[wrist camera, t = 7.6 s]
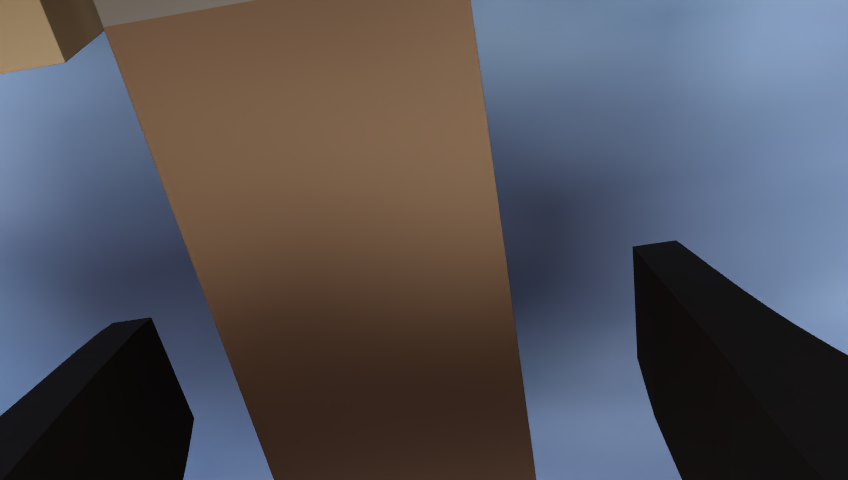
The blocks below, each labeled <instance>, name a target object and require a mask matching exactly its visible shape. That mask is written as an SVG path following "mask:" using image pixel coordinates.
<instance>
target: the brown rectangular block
mask: <svg viewBox="0 0 848 480" xmlns="http://www.w3.org/2000/svg"><path fill="white" fill-rule="evenodd" d="M93 1H94V3H95V6H96V9H97V11H98V14H99V17H100V19H101V22H102V25H103V27H104V30H105V33H106V35H107V38H108V41H109V43H110V46H111V49H112V51H113V54H114V57H115V59H116V62H117V64H118V67H119V70H120V72H121V75H122V78H123V80H124V83H125V86H126V88H127V91H128V94H129V96H130V99H131V102H132V104H133V107H134V110H135V112H136V115H137V118H138V120H139V123H140V125H141V128H142V131H143V133H144V136H145V139H146V141H147V144H148V147H149V149H150V152H151V155H152V157H153V160H154V163H155V165H156V168H157V171H158V173H159V176H160V179H161V181H162V184H163V186H164V189H165V192H166V194H167V197H168V200H169V202H170V205H171V208H172V210H173V213H174V216H175V218H176V221H177V224H178V226H179V229H180V232H181V234H182V237H183V240H184V242H185V245H186V247H187V250H188V253H189V255H190V258H191V261H192V263H193V266H194V269H195V271H196V274H197V277H198V279H199V282H200V285H201V287H202V290H203V293H204V295H205V298H206V301H207V303H208V306H209V308H210V311H211V314H212V316H213V319H214V322H215V324H216V327H217V330H218V332H219V335H220V338H221V340H222V343H223V346H224V348H225V351H226V354H227V356H228V359H229V362H230V364H231V367H232V370H233V372H234V375H235V377H236V380H237V383H238V385H239V388H240V391H241V393H242V396H243V399H244V401H245V404H246V407H247V409H248V412H249V415H250V417H251V420H252V423H253V425H254V428H255V431H256V433H257V436H258V438H259V441H260V444H261V446H262V449H263V452H264V454H265V457H266V460H267V462H268V465H269V468H270V470H271V473H272V476H273V478H274V480H536V474H535V467H534V459H533V452H532V445H531V437H530V430H529V423H528V416H527V408H526V401H525V394H524V386H523V379H522V372H521V365H520V357H519V350H518V343H517V335H516V328H515V321H514V314H513V306H512V299H511V292H510V285H509V277H508V270H507V263H506V255H505V248H504V241H503V234H502V226H501V219H500V212H499V204H498V197H497V190H496V183H495V175H494V168H493V161H492V154H491V146H490V139H489V132H488V124H487V117H486V110H485V103H484V95H483V88H482V81H481V73H480V66H479V59H478V52H477V44H476V37H475V30H474V22H473V15H472V8H471V1H470V0H93Z"/></svg>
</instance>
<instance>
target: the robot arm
mask: <svg viewBox="0 0 848 480" xmlns="http://www.w3.org/2000/svg"><path fill="white" fill-rule="evenodd" d="M633 264H634V288H635V311H636V335H637V358H638V362H639V365H640V369H641V372H642V376H643V379H644V382H645V386H646V389H647V393H648V396H649V399H650V403H651V406H652V409H653V412H654V416H655V418H656V421H657V423H658V426H659V428H660V430H661V433H662V435H663V437H664V439H665V442H666V444H667V446H668V449H669V451H670V453H671V455H672V458H673V460H674V462H675V464H676V467H677V469H678V471H679V473H680V476H681V478H682V480H848V355H846V354H844V353H843V352H841V351H839V350H837V349H835V348H834V347H832V346H830V345H829V344H827V343H825V342H824V341H822V340H820V339H819V338H817V337H815V336H814V335H812V334H810V333H808V332H807V331H805V330H803V329H802V328H800V327H798V326H797V325H795V324H794V323H792V322H790V321H789V320H787V319H786V318H784V317H783V316H781V315H780V314H778V313H776V312H775V311H773V310H772V309H770V308H769V307H767V306H766V305H764V304H763V303H761V302H760V301H759V300H757V299H756V298H754V297H753V296H751V295H750V294H748V293H747V292H746V291H744V290H743V289H741V288H740V287H738V286H737V285H736V284H734V283H733V282H731V281H730V280H729V279H727V278H726V277H725V276H723V275H722V274H721V273H719V272H718V271H717V270H715V269H714V268H712V267H711V266H710V265H708V264H707V263H706V262H704V261H703V260H702V259H700V258H699V257H698V256H696V255H695V254H694V253H692V252H691V251H690V250H688V249H687V248H686V247H684V246H683V245H682V244H680V243H679V242H677V241H676V240H675V241H668V242H662V243H655V244H648V245H641V246H634V247H633ZM193 421H194V417H193V415H192V412H191V410H190V408H189V405H188V403H187V401H186V398H185V396H184V394H183V391H182V389H181V387H180V384H179V382H178V380H177V377H176V375H175V372H174V370H173V368H172V365H171V363H170V361H169V358H168V356H167V354H166V351H165V349H164V347H163V344H162V342H161V340H160V337H159V335H158V332H157V330H156V328H155V325H154V323H153V321H152V318H144V319H137V320H131V321H124V322H117V323H112V324H111V325H109V326H108V327H107V328H105V329H104V330H102V331H101V332H100V333H98V334H97V335H96V336H94V337H93V338H92V339H91V340H89V341H88V342H87V343H86V344H84V345H83V346H82V347H81V348H80V349H78V350H77V351H76V352H75V353H74V354H72V355H71V356H70V357H69V358H68V359H67V360H65V361H64V362H63V363H62V364H61V365H60V366H58V367H57V368H56V369H55V370H54V371H53V372H51V373H50V374H49V375H48V376H47V377H46V378H44V379H43V380H42V381H41V382H40V383H39V384H37V385H36V386H35V387H34V388H33V389H32V390H30V391H29V392H28V393H27V394H26V395H25V396H23V397H22V398H21V399H20V400H19V401H18V402H16V403H15V404H14V405H13V406H12V407H11V408H9V409H8V410H7V411H6V412H5V413H3V414H2V415H1V416H0V480H183V478H184V472H185V467H186V462H187V457H188V452H189V446H190V440H191V434H192V428H193Z"/></svg>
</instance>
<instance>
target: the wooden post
mask: <svg viewBox="0 0 848 480" xmlns="http://www.w3.org/2000/svg"><path fill="white" fill-rule="evenodd" d="M103 31H104V27H103V25H102V22H101V19H100V17H99V14H98V11H97V9H96V6H95V3H94V1H93V0H0V74H3V73H9V72H15V71H20V70H26V69H32V68H38V67H43V66H49V65H55V64H60V63H65V62H67V61H68V60H69V59H70V58H71V57H73V56H74V55H75V54H76V53H78V52H79V51H80V50H81V49H82V48H84V47H85V46H86V45H87V44H89V43H90V42H91V41H92V40H93V39H95V38H96V37H97V36H98V35H100V34H101V33H102V32H103Z"/></svg>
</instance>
